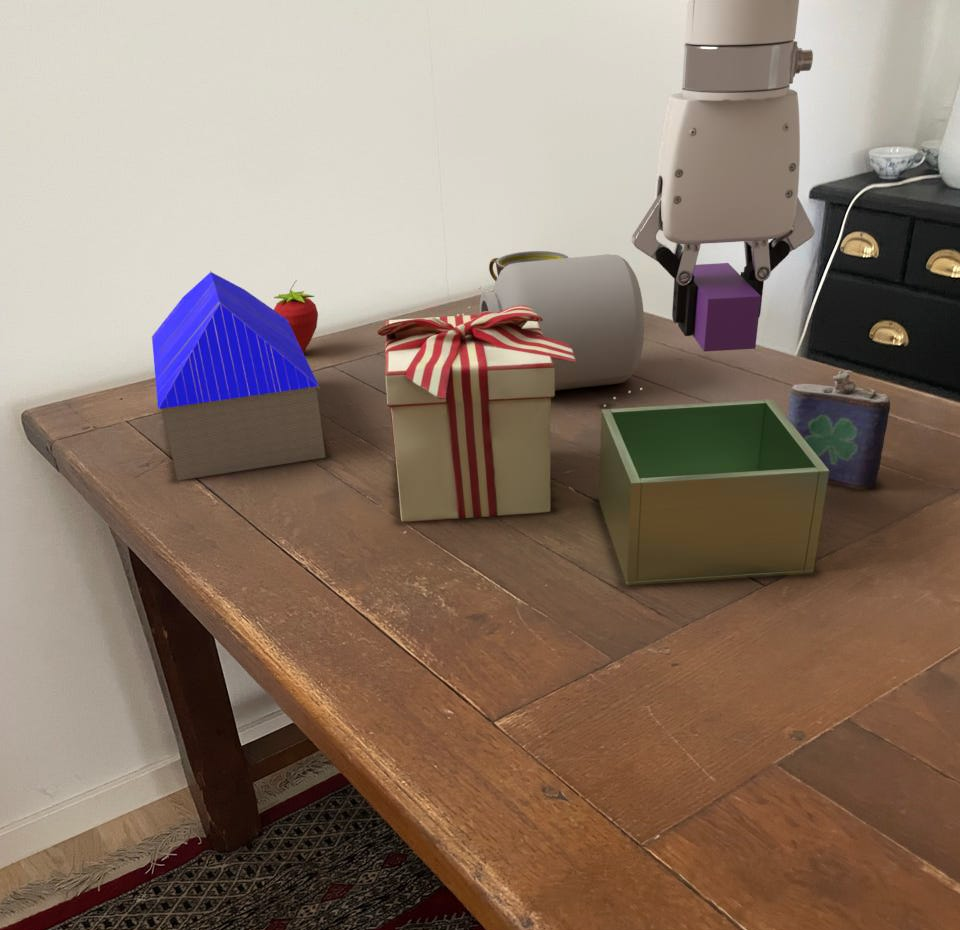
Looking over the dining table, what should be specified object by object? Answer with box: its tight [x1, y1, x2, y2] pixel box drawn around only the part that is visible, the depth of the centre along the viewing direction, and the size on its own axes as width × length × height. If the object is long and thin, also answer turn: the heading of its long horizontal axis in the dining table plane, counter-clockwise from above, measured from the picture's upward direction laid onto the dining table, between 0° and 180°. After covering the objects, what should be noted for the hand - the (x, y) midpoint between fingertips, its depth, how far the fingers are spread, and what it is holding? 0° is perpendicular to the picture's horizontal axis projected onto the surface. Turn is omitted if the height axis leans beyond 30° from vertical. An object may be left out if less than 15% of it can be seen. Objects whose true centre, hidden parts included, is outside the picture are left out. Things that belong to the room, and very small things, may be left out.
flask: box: [786, 370, 891, 491], centre depth 97 cm, size 9×3×11 cm, turn 58°
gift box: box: [376, 305, 576, 523], centre depth 96 cm, size 17×18×17 cm
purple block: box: [692, 262, 761, 352], centre depth 82 cm, size 4×10×4 cm, turn 3°
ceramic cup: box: [488, 250, 571, 282], centre depth 140 cm, size 13×10×10 cm
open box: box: [598, 398, 829, 586], centre depth 89 cm, size 16×16×10 cm
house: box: [151, 271, 327, 481], centre depth 113 cm, size 25×16×16 cm, turn 16°
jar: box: [456, 254, 645, 408], centre depth 120 cm, size 19×15×25 cm
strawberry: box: [273, 279, 319, 355], centre depth 136 cm, size 6×8×10 cm
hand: (714, 326), depth 83 cm, fingers closed on purple block, 4 cm apart
